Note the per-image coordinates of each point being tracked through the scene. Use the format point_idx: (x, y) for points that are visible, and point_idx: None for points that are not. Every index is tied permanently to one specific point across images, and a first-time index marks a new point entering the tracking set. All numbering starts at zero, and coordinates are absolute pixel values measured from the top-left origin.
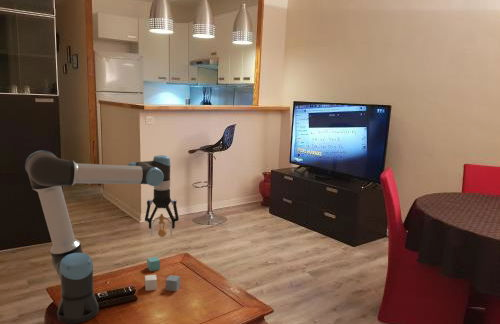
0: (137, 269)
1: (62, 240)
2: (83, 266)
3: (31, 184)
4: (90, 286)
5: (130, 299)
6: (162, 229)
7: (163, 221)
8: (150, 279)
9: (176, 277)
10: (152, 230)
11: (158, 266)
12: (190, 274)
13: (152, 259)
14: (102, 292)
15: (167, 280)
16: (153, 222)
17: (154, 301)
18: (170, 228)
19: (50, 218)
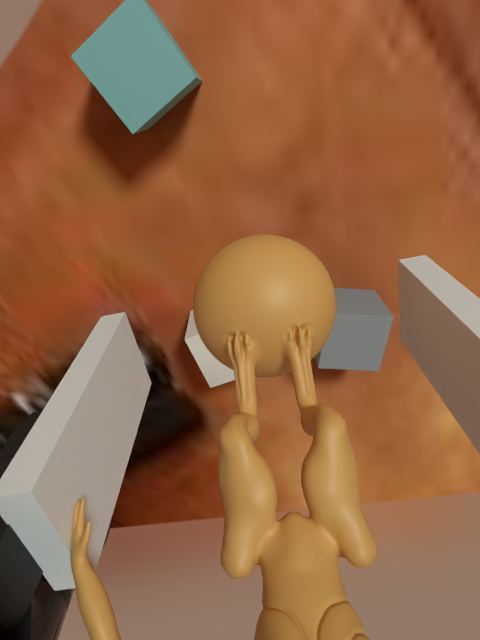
0: (46, 112)
1: None
2: None
3: None
4: (56, 636)
5: (177, 422)
6: (279, 359)
7: (348, 559)
8: (232, 374)
9: (374, 333)
10: (129, 442)
11: (190, 89)
12: (431, 133)
13: (126, 72)
14: (28, 392)
15: (327, 367)
16: (80, 527)
17: (281, 423)
18: (455, 417)
19: None
